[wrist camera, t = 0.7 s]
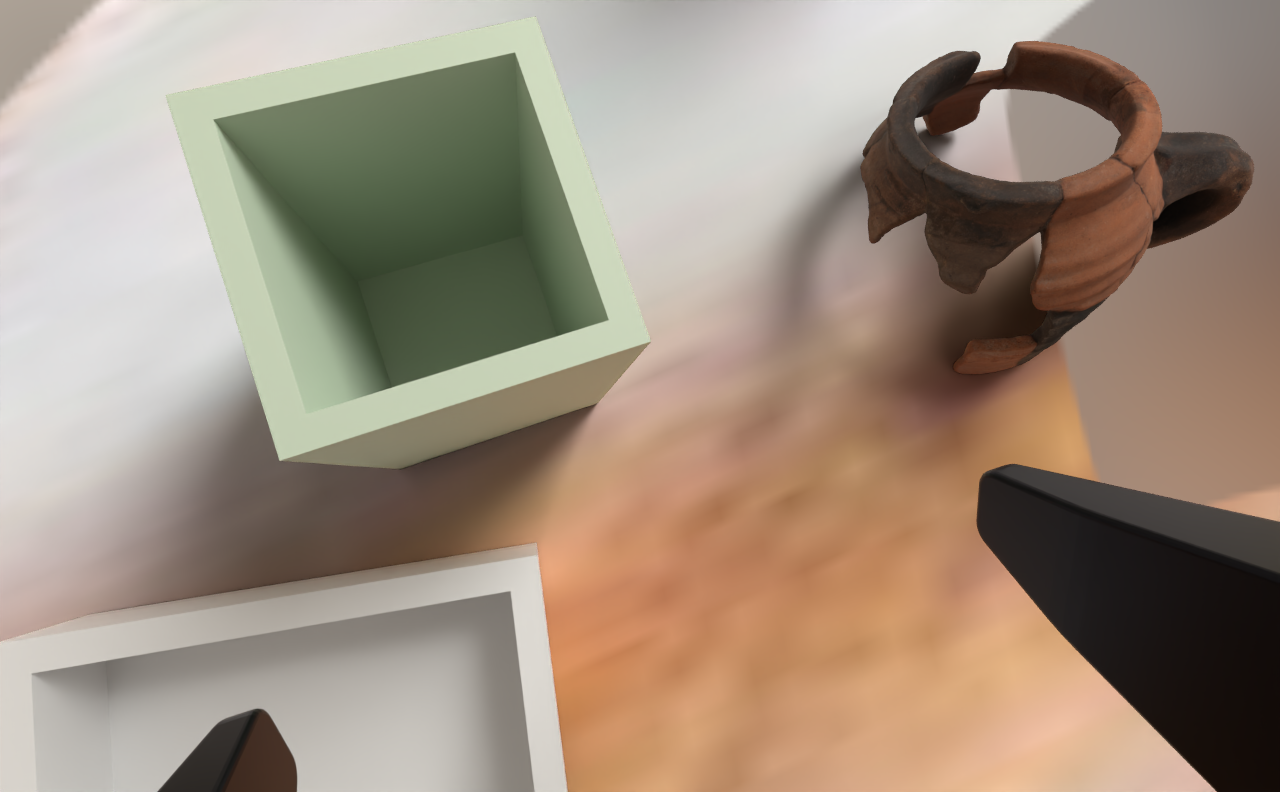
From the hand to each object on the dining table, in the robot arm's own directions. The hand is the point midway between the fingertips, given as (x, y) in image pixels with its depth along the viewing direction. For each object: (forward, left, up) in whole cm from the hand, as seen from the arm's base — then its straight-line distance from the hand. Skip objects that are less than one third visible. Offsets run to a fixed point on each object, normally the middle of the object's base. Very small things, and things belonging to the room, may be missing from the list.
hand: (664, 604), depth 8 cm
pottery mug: (+8, -16, -14) cm, 23 cm away
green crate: (+6, +3, -13) cm, 15 cm away
